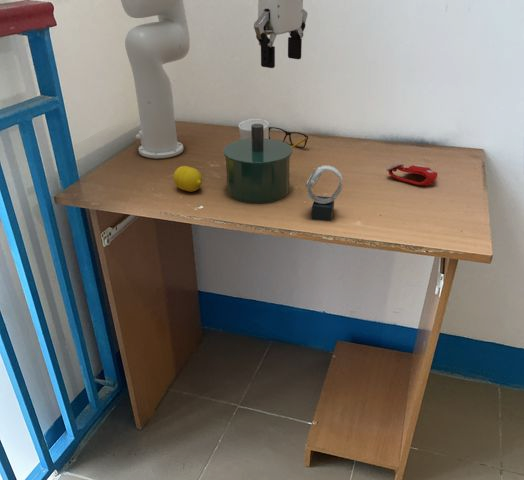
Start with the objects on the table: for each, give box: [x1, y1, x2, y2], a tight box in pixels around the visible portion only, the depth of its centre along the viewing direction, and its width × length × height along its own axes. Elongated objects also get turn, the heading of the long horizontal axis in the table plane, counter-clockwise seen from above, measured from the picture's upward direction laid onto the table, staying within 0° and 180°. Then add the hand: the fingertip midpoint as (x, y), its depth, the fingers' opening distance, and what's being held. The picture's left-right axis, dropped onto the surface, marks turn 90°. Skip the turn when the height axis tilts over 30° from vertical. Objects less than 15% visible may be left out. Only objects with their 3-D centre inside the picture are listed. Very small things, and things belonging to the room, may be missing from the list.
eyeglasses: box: [269, 126, 309, 149], centre depth 158 cm, size 14×14×4 cm
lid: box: [222, 124, 293, 165], centre depth 130 cm, size 16×16×7 cm
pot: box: [225, 156, 291, 204], centre depth 135 cm, size 15×15×10 cm
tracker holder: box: [385, 163, 439, 187], centre depth 141 cm, size 12×4×10 cm
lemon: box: [173, 165, 203, 193], centre depth 137 cm, size 9×6×6 cm, turn 52°
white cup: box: [238, 118, 270, 140], centre depth 149 cm, size 8×8×10 cm
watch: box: [305, 164, 344, 222], centre depth 124 cm, size 6×8×11 cm
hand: (281, 62), depth 120 cm, fingers open, 9 cm apart
